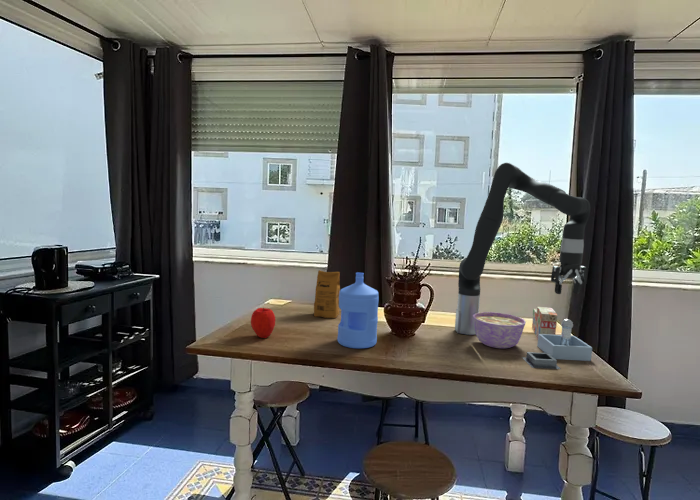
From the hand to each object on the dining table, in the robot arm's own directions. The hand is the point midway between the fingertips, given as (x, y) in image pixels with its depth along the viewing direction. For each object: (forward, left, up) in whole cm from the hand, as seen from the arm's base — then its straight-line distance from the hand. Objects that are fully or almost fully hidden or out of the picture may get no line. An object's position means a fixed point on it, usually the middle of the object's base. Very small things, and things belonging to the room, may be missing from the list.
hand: (567, 293), depth 163 cm
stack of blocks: (+3, +27, -25) cm, 36 cm away
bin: (0, 0, -24) cm, 24 cm away
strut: (+1, -1, -23) cm, 23 cm away
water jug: (-79, +3, -24) cm, 82 cm away
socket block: (-13, -12, -24) cm, 30 cm away
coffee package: (-95, +41, -24) cm, 106 cm away
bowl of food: (-23, +7, -24) cm, 34 cm away
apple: (-117, +4, -24) cm, 119 cm away
